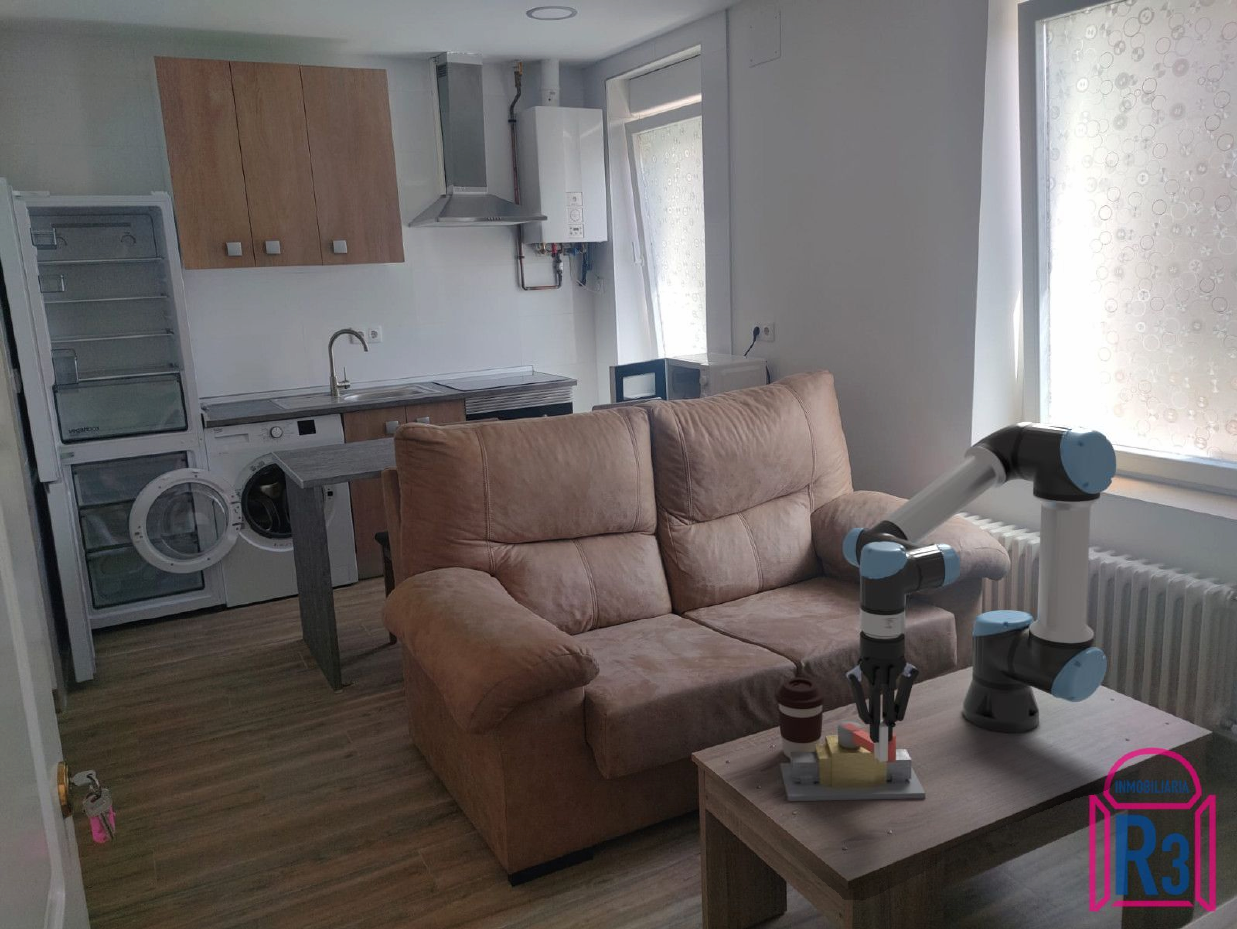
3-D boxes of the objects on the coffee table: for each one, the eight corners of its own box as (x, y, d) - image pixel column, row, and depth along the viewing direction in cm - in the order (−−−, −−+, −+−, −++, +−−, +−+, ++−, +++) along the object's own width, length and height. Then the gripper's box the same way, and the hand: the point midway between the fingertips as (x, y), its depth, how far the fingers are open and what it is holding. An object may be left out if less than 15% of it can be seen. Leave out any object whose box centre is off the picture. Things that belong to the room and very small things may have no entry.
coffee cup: (826, 766, 183) (825, 696, 180) (775, 764, 185) (774, 694, 182) (825, 742, 192) (824, 674, 189) (777, 740, 194) (775, 673, 191)
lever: (833, 740, 176) (832, 713, 175) (850, 734, 178) (850, 707, 177) (884, 771, 164) (884, 741, 163) (902, 764, 166) (902, 735, 165)
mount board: (908, 764, 182) (908, 760, 182) (925, 798, 170) (925, 793, 170) (780, 768, 183) (780, 763, 183) (788, 801, 171) (788, 796, 171)
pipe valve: (903, 766, 179) (903, 733, 178) (913, 786, 172) (913, 751, 171) (789, 769, 180) (788, 736, 179) (794, 788, 174) (793, 754, 172)
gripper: (854, 642, 156) (853, 772, 160) (927, 636, 157) (924, 764, 161) (838, 627, 163) (838, 751, 167) (908, 621, 164) (906, 744, 169)
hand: (880, 757), depth 164 cm, fingers closed
